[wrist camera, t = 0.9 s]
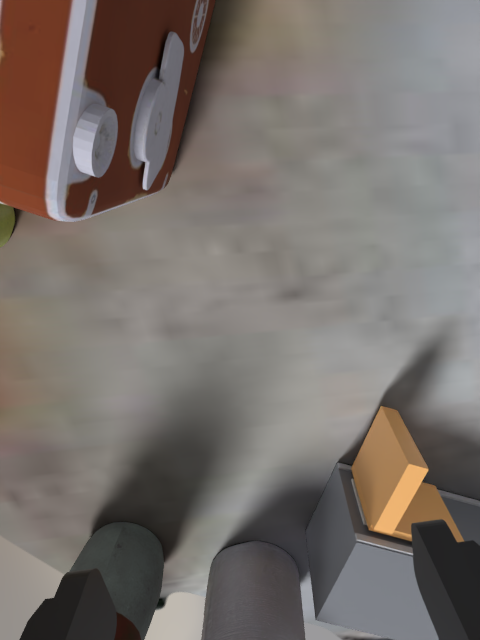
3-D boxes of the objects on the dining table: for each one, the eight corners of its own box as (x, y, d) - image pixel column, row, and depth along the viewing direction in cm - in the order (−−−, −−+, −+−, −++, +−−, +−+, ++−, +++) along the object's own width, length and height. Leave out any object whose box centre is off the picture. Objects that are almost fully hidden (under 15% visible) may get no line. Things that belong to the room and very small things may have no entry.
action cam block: (305, 531, 44) (317, 630, 35) (337, 461, 41) (360, 549, 32) (462, 572, 45) (513, 678, 36) (506, 506, 42) (575, 605, 33)
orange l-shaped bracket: (350, 468, 40) (370, 535, 33) (381, 405, 37) (408, 463, 30) (432, 490, 40) (468, 561, 33) (467, 430, 38) (514, 492, 31)
